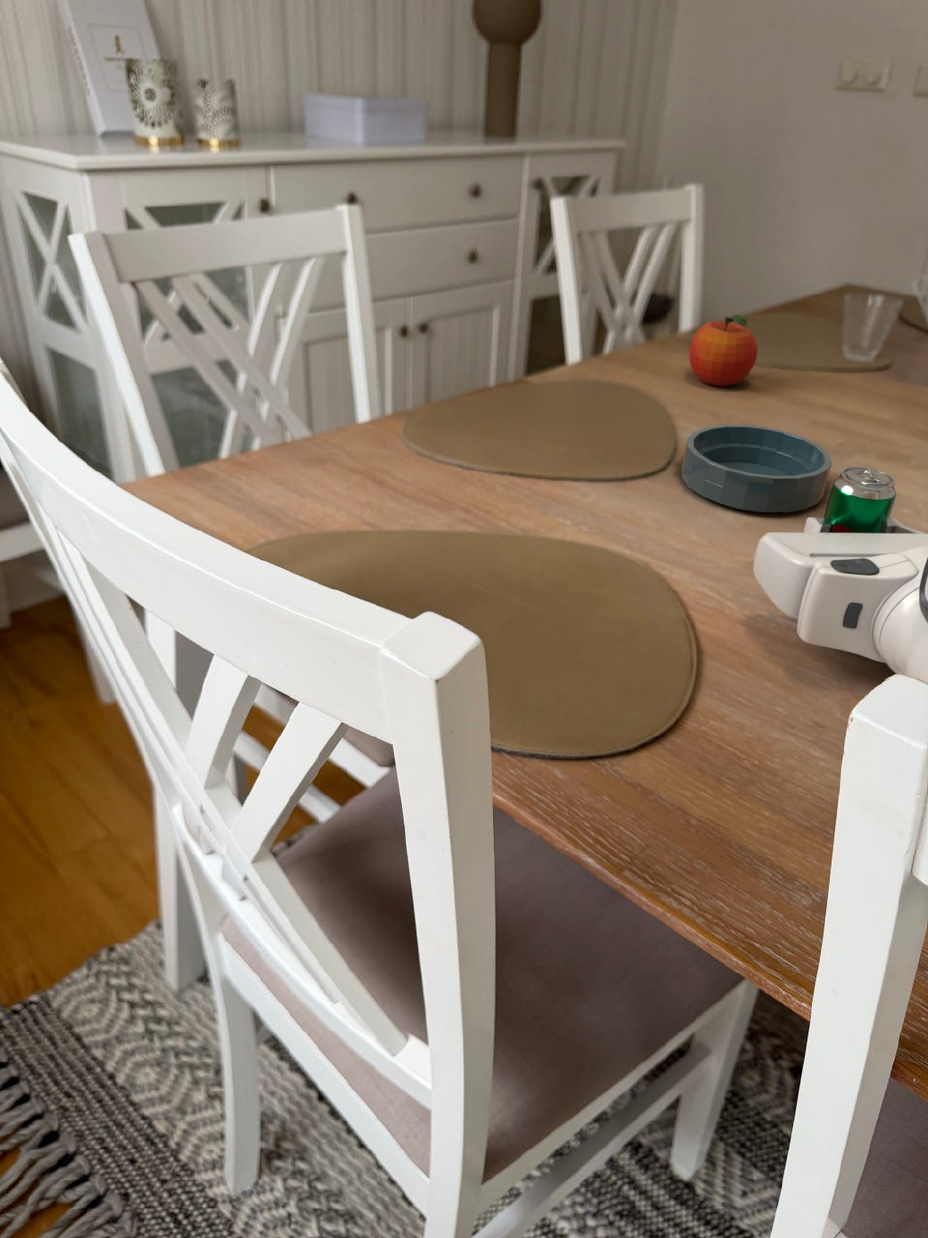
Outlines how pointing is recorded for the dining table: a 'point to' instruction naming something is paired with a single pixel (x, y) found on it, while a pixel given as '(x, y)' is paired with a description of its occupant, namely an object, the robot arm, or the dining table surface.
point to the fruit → (723, 352)
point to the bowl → (755, 468)
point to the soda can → (860, 501)
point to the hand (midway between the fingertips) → (847, 525)
